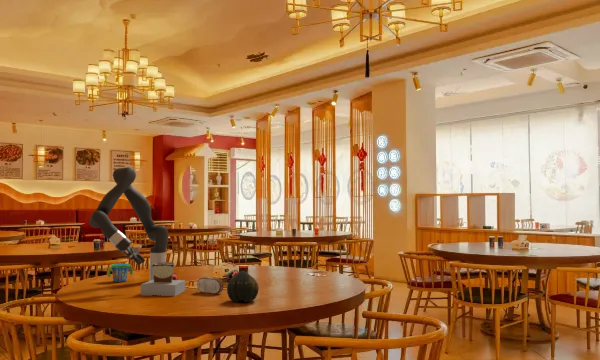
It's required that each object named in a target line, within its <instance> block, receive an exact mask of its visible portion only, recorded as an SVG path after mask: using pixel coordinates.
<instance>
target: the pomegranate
mask: <svg viewBox="0 0 600 360" xmlns="http://www.w3.org/2000/svg"><path fill="white" fill-rule="evenodd" d="M172 280H179V278H178V276H177V273H176V272H174V271H173V279H172Z"/></svg>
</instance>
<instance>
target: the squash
mask: <svg viewBox="0 0 600 360" xmlns="http://www.w3.org/2000/svg"><path fill="white" fill-rule="evenodd" d="M259 288H260V287H259V284H258V281H257V280H256V279H255V278H254V277H253V276H252V275H250V273H248V272H247V271H244V270H240V271H239V272H237V274H235V275H233V277H232V278H231V279H230V280H229V282H228V284H227V287H226V293H227V296H228V298H229V299H230V300H231V301H232V302H234V303H235V302H236V303H237V302H239V301H243V302H244V303H246V302H247V303H250V302H252V301H254V300H255V299H256V298H257V296H258V294H259V290H260V289H259Z"/></svg>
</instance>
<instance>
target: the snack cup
mask: <svg viewBox="0 0 600 360" xmlns="http://www.w3.org/2000/svg"><path fill="white" fill-rule="evenodd" d="M111 271H112V273H111ZM133 272H134V270H133V266H132V265H131V264H130V263H112V264H110V266H109V267H108V269H107V277H108V278H110V277H111V274H112V280H113V282H114V283H122V282H127V280H128V276H129V275H130V276H131V275H133Z"/></svg>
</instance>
